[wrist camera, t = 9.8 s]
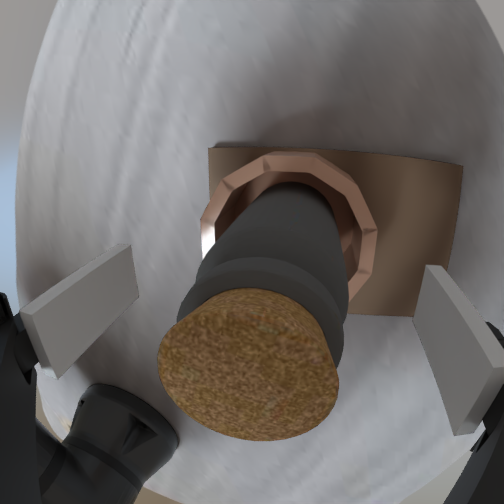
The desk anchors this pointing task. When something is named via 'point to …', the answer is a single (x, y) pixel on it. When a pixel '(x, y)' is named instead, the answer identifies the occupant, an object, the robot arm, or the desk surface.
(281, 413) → the bottle
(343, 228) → the terracotta bowl
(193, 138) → the desk surface
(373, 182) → the board
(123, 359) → the desk surface
